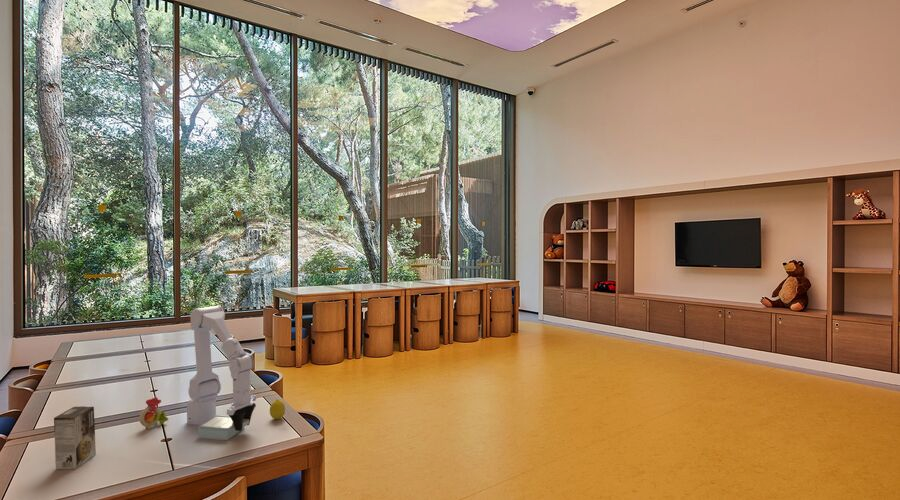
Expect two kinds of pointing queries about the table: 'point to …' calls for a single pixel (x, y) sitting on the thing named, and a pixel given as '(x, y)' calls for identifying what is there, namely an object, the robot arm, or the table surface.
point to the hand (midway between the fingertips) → (242, 427)
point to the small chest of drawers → (224, 422)
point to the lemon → (277, 409)
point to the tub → (216, 432)
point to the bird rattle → (152, 414)
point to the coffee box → (74, 437)
